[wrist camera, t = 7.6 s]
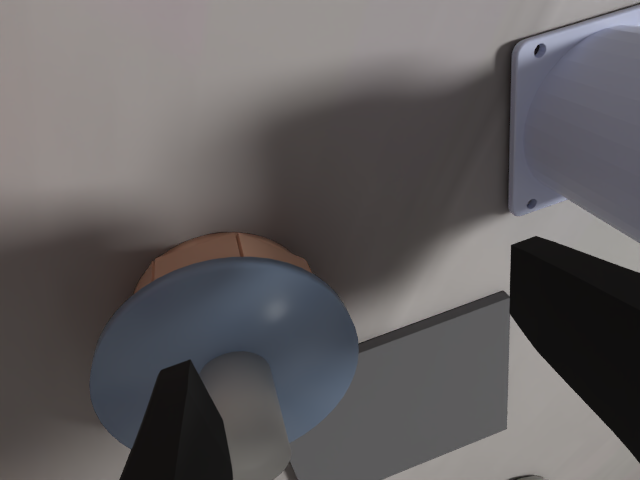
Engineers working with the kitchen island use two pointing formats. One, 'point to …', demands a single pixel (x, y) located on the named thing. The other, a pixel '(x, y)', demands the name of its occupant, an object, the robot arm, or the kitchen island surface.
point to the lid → (232, 354)
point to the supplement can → (532, 478)
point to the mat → (415, 396)
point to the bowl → (218, 253)
